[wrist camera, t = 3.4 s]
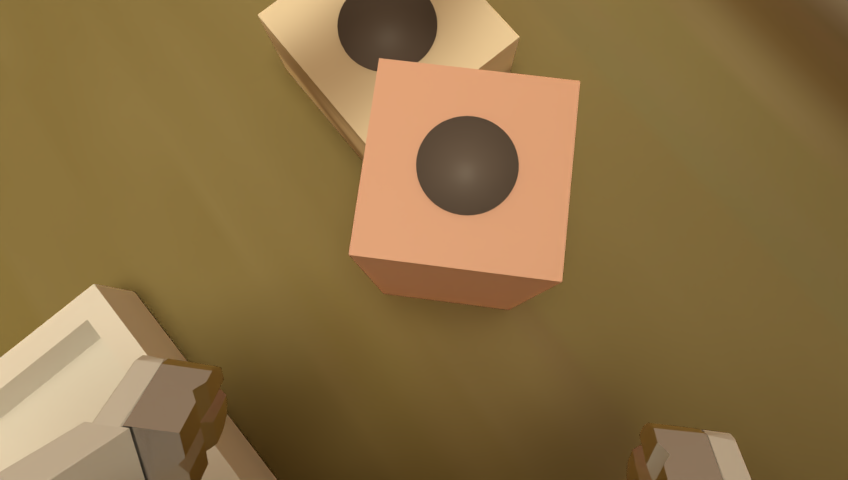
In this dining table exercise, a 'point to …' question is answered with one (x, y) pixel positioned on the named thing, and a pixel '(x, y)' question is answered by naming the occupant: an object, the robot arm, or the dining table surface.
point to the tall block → (465, 183)
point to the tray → (93, 378)
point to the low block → (379, 47)
